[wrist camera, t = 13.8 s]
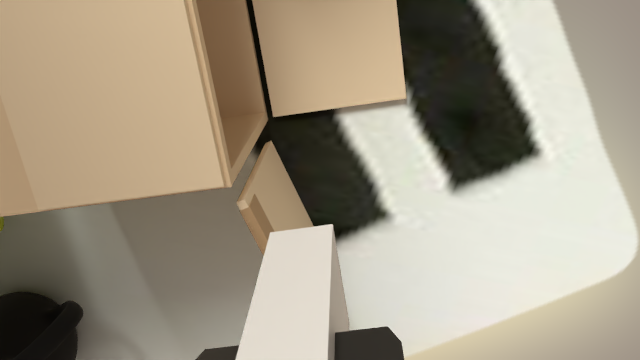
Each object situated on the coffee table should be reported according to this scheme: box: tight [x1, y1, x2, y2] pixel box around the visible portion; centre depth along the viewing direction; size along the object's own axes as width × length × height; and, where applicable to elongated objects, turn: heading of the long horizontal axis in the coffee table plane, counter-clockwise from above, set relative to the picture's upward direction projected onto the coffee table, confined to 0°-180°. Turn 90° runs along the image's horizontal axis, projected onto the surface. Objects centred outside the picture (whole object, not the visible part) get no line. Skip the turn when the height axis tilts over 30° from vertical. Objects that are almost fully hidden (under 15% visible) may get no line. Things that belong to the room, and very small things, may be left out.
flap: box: [236, 141, 314, 256], centre depth 31 cm, size 8×1×10 cm, turn 24°
